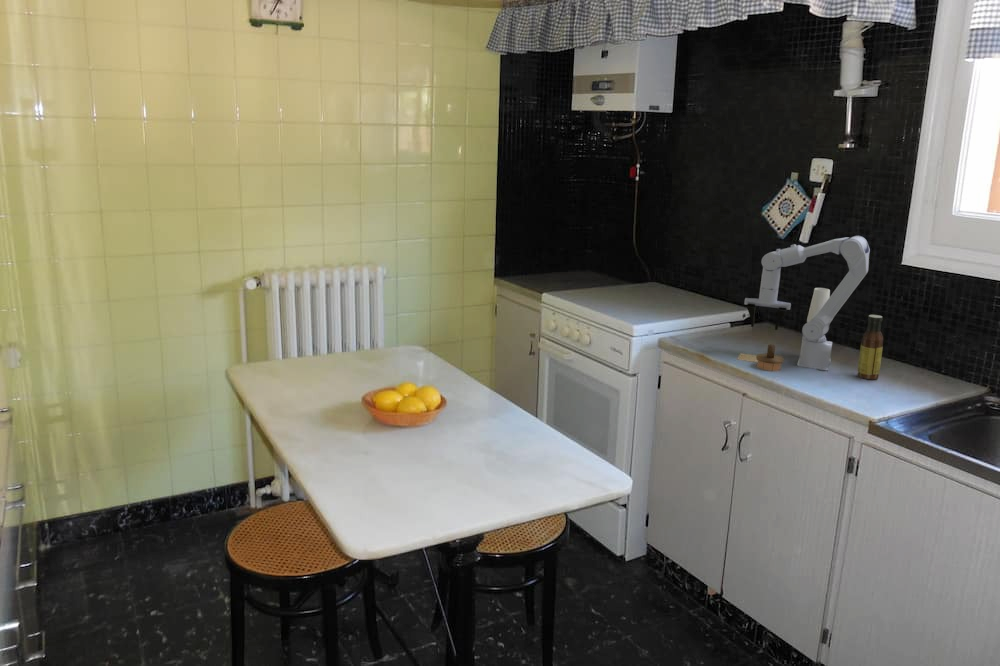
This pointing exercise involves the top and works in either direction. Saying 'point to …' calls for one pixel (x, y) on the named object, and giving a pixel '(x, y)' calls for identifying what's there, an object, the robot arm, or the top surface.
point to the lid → (770, 356)
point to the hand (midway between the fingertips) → (764, 327)
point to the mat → (747, 357)
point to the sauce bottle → (871, 349)
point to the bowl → (768, 366)
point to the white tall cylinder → (818, 301)
